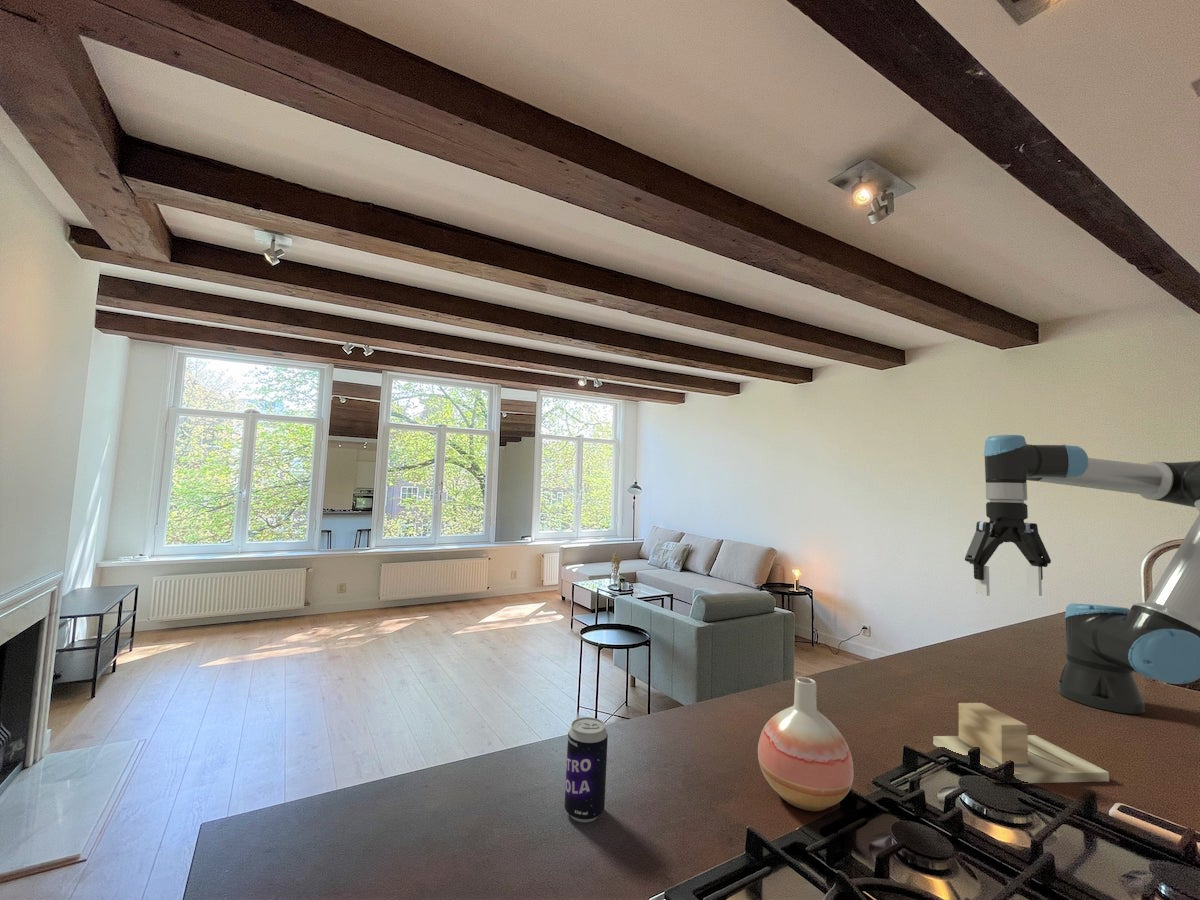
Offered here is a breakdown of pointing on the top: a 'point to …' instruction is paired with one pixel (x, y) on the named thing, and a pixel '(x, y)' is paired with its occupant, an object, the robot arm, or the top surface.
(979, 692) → the top surface
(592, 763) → the beverage can
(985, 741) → the block
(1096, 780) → the board
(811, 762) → the vase
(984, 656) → the top surface
